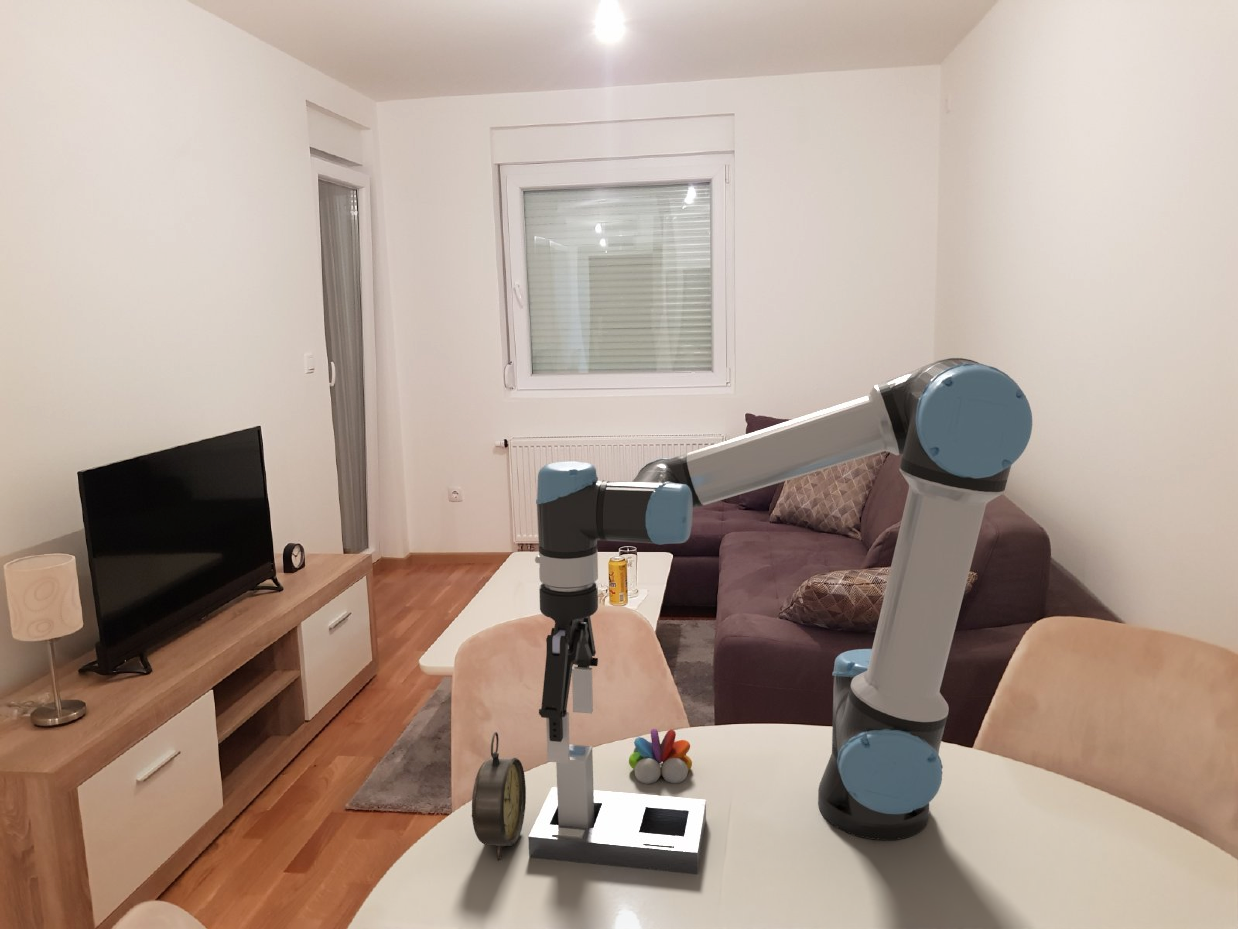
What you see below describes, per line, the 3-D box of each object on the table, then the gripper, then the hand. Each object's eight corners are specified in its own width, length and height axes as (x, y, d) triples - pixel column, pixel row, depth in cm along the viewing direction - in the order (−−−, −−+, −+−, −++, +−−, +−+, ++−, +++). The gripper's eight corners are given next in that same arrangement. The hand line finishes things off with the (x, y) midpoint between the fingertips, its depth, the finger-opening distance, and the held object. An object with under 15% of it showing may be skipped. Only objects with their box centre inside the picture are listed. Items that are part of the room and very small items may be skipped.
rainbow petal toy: (694, 788, 132) (693, 743, 131) (629, 789, 132) (628, 744, 131) (690, 759, 141) (689, 717, 139) (629, 760, 141) (628, 717, 139)
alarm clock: (508, 871, 114) (502, 755, 111) (467, 868, 115) (460, 752, 112) (529, 822, 124) (524, 715, 121) (492, 819, 125) (486, 713, 122)
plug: (594, 826, 122) (592, 742, 120) (588, 844, 118) (585, 757, 116) (566, 823, 123) (563, 740, 120) (559, 841, 119) (556, 754, 117)
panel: (706, 823, 123) (706, 798, 122) (697, 878, 112) (697, 851, 111) (553, 809, 127) (552, 785, 127) (529, 861, 116) (528, 835, 115)
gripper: (563, 553, 127) (566, 692, 131) (511, 614, 102) (516, 782, 106) (615, 556, 125) (616, 696, 129) (574, 618, 101) (577, 788, 105)
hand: (571, 735), depth 118 cm, fingers open, 13 cm apart
